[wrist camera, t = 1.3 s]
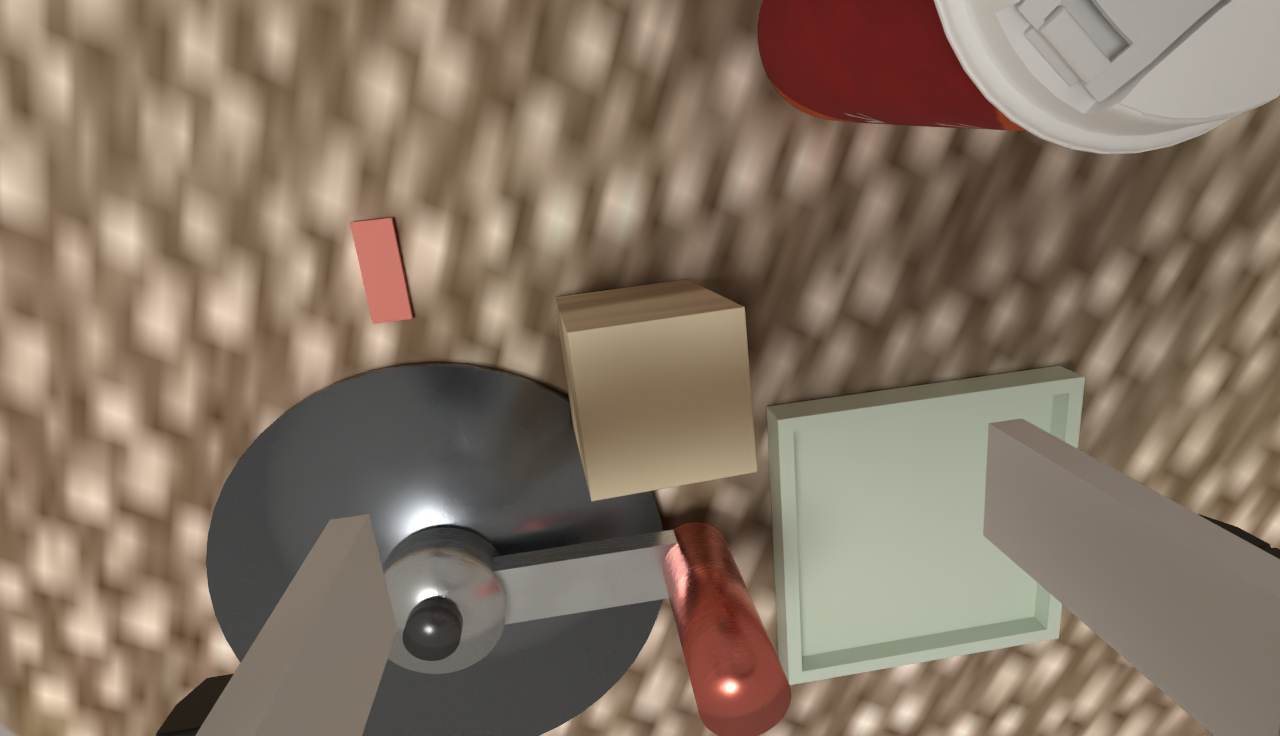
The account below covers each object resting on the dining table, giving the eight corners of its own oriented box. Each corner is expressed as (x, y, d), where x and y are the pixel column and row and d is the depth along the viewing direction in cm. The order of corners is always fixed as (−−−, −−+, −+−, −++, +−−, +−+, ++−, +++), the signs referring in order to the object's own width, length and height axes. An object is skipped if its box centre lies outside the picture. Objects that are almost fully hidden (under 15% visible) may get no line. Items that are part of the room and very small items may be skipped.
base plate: (149, 396, 25) (76, 441, 21) (642, 333, 27) (657, 364, 23) (279, 778, 31) (239, 869, 27) (681, 708, 32) (698, 785, 28)
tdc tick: (351, 222, 24) (350, 222, 24) (392, 217, 24) (391, 218, 24) (374, 322, 25) (372, 323, 25) (413, 317, 25) (412, 318, 25)
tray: (766, 406, 28) (777, 420, 27) (1059, 365, 29) (1084, 376, 28) (778, 661, 32) (789, 684, 31) (1036, 617, 33) (1058, 638, 32)
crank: (394, 644, 28) (331, 843, 20) (367, 538, 27) (287, 705, 19) (727, 591, 30) (793, 758, 21) (719, 485, 28) (788, 622, 20)
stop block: (554, 297, 26) (567, 332, 19) (686, 279, 26) (744, 307, 20) (573, 425, 27) (591, 501, 20) (698, 405, 27) (757, 471, 21)
